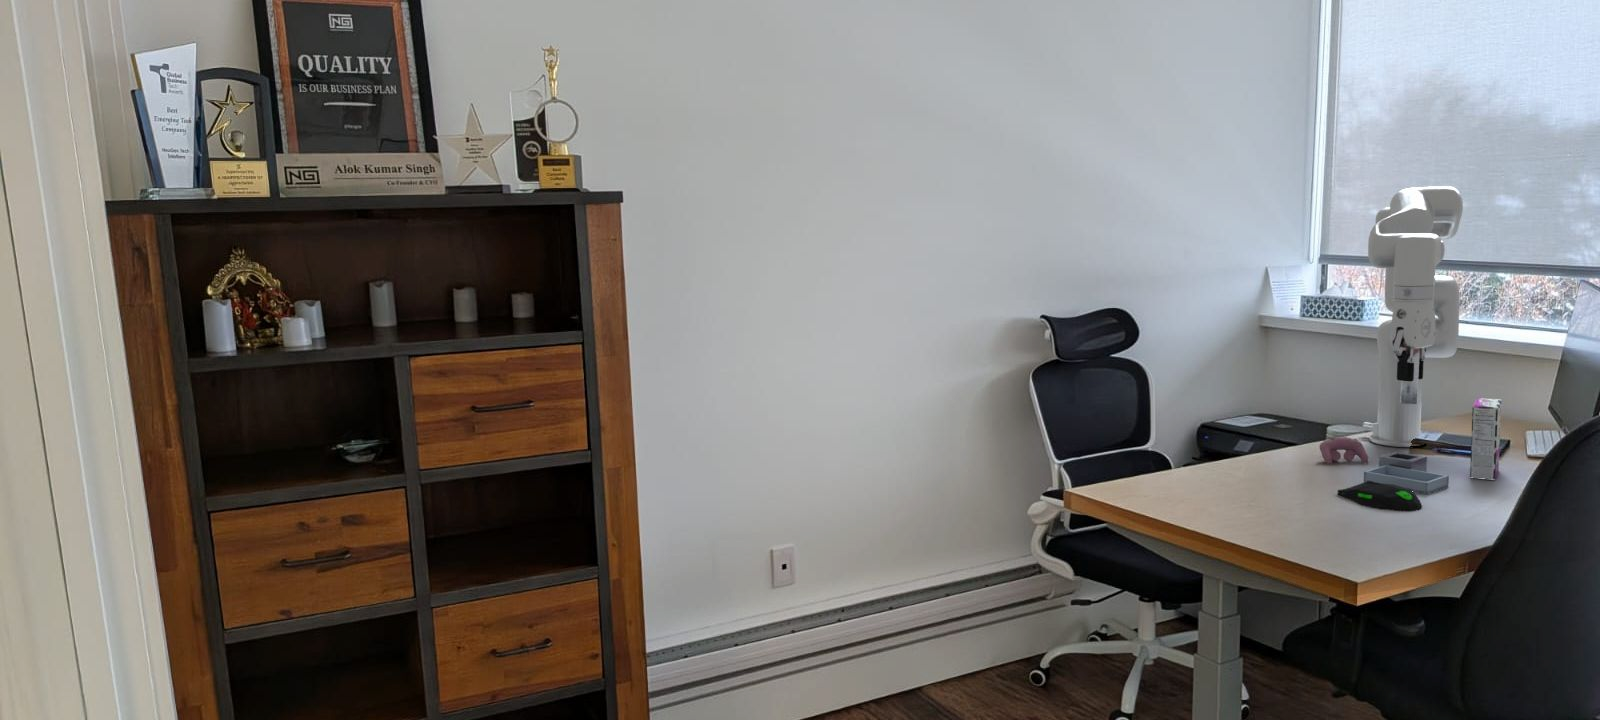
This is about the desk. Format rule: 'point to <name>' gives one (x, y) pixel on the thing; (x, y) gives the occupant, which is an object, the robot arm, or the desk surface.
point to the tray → (1407, 478)
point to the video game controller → (1342, 443)
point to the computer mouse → (1382, 496)
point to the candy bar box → (1485, 438)
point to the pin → (1411, 388)
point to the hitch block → (1404, 461)
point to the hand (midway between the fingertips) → (1409, 378)
